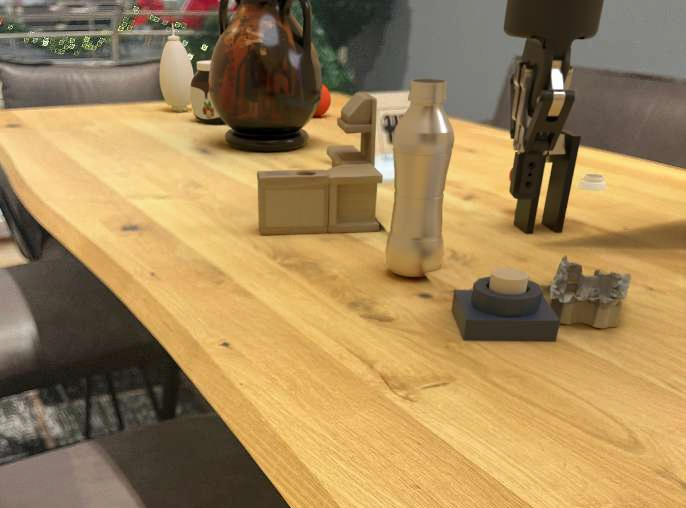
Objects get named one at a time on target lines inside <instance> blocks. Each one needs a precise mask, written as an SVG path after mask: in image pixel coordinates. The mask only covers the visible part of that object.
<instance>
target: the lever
mask: <svg viewBox="0 0 686 508" xmlns="http://www.w3.org/2000/svg"><path fill="white" fill-rule="evenodd" d="M564 155H565V137H564V134H560V136H559V138H558V140H557V143H556V145H555V147H554V150H553V151H548V152H547V157H546V163H545V164H550V163H551V164H552V163H555V162H556V161H558V160H559V159H560V158H561V157H562V156H564ZM512 170H513V166H512V167H511V168H510V170H509V173H508V179H509V182H511V176H512Z"/></svg>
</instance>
